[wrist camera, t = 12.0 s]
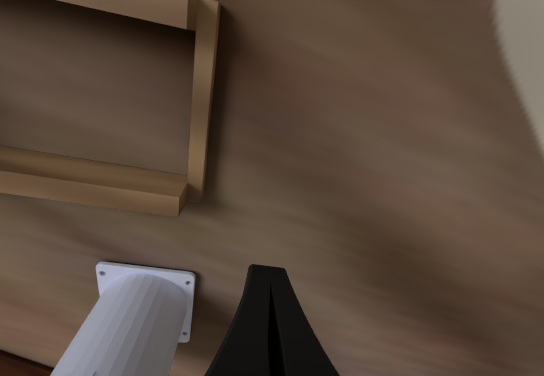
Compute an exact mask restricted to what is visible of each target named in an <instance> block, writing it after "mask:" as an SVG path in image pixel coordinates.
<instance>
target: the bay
mask: <svg viewBox="0 0 544 376" xmlns="http://www.w3.org/2000/svg"><path fill="white" fill-rule="evenodd" d="M58 1H63V2H67V3H71V4H76V5H80V6H85V7H89V8H94V9H98V10H103V11H107V12H112V13H116V14H121V15H125V16H129V17H134V18H138V19H143V20H147V21H152V22H156V23H161V24H165V25H170V26H174V27H179V28H183V29H188V30H193V31H196V41H195V58H194V75H193V92H192V110H191V127H190V144H189V161H188V176H187V175H181V174H174V173H168V172H162V171H156V170H149V169H143V168H137V167H131V166H124V165H118V164H112V163H106V162H99V161H93V160H87V159H81V158H74V157H68V156H62V155H56V154H49V153H43V152H37V151H31V150H24V149H18V148H12V147H6V146H0V193H7V194H15V195H22V196H29V197H36V198H43V199H50V200H57V201H64V202H71V203H78V204H85V205H93V206H100V207H107V208H114V209H121V210H128V211H135V212H142V213H149V214H156V215H163V216H170V217H179V215H180V213H181V211H182V209H183V207H184V205H185V203H186V201H187V202H194V203H201V201H202V199H203V195H204V184H205V173H206V162H207V151H208V141H209V130H210V119H211V108H212V97H213V86H214V75H215V64H216V53H217V43H218V32H219V21H220V10H221V4H220V3H219V2H218V1H214V0H58Z"/></svg>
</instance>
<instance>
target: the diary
mask: <svg viewBox="0 0 544 376" xmlns="http://www.w3.org/2000/svg"><path fill="white" fill-rule="evenodd" d="M53 370H54V369H51V368H48V367H45V366H42V365H39V364H36V363H33V362H30V361H28V360H25V359H22V358H19V357H16V356H13V355H10V354H7V353H4V352H2V351H0V376H50V375H51V373H52V372H53Z"/></svg>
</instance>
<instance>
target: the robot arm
mask: <svg viewBox="0 0 544 376" xmlns="http://www.w3.org/2000/svg"><path fill="white" fill-rule="evenodd" d="M96 273H97V280H98V287H99V294H100V298H99V300H98V301H97V303H96V304H95V306H94V308H93V309H92V311H91V312H90V314H89V315H88V317H87V318H86V320H85V322H84V323H83V325H82V326H81V328H80V329H79V331H78V333H77V334H76V336H75V337H74V339H73V340H72V342H71V343H70V345H69V347H68V348H67V350H66V351H65V353H64V354H63V356H62V358H61V359H60V361H59V362H58V364H57V365H56V367H55V368H54V370H53V372H52V373H51V375H50V376H169V373H170V370H171V366H172V363H173V359H174V356H175V352H176V348H177V345H178V342H182V343H186V342H188V341H189V339H190V332H191V321H192V310H193V299H194V288H195V277H196V276H195V274H194V273H192V272H187V271H179V270H170V269H162V268H154V267H145V266H137V265H128V264H120V263H111V262H99V263H98V264H97V266H96ZM188 281H190V282H188ZM205 376H340V375H339V374H338V372H337V371H336V369H335V368H334V366H333V365H332V363H331V361H330V360H329V358H328V356H327V355H326V353H325V351H324V350H323V348H322V346H321V344H320V343H319V341H318V339H317V337H316V336H315V334H314V332H313V330H312V328H311V326H310V324H309V322H308V320H307V318H306V316H305V314H304V312H303V310H302V308H301V306H300V304H299V302H298V300H297V297H296V295H295V293H294V290H293V288H292V286H291V283H290V281H289V278H288V275H287V273H286V270H285V269H284V268H279V267H271V266H263V265H255V264H252V265H250V266H249V268H248V273H247V278H246V282H245V287H244V292H243V296H242V298H241V301H240V304H239V306H238V309H237V312H236V314H235V316H234V319H233V321H232V323H231V325H230V327H229V330H228V332H227V334H226V336H225V338H224V340H223V342H222V344H221V346H220V348H219V350H218V352H217V354H216V356H215V358H214V360H213V361H212V363H211V365H210V367H209V369H208V370H207V372H206V374H205Z"/></svg>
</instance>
